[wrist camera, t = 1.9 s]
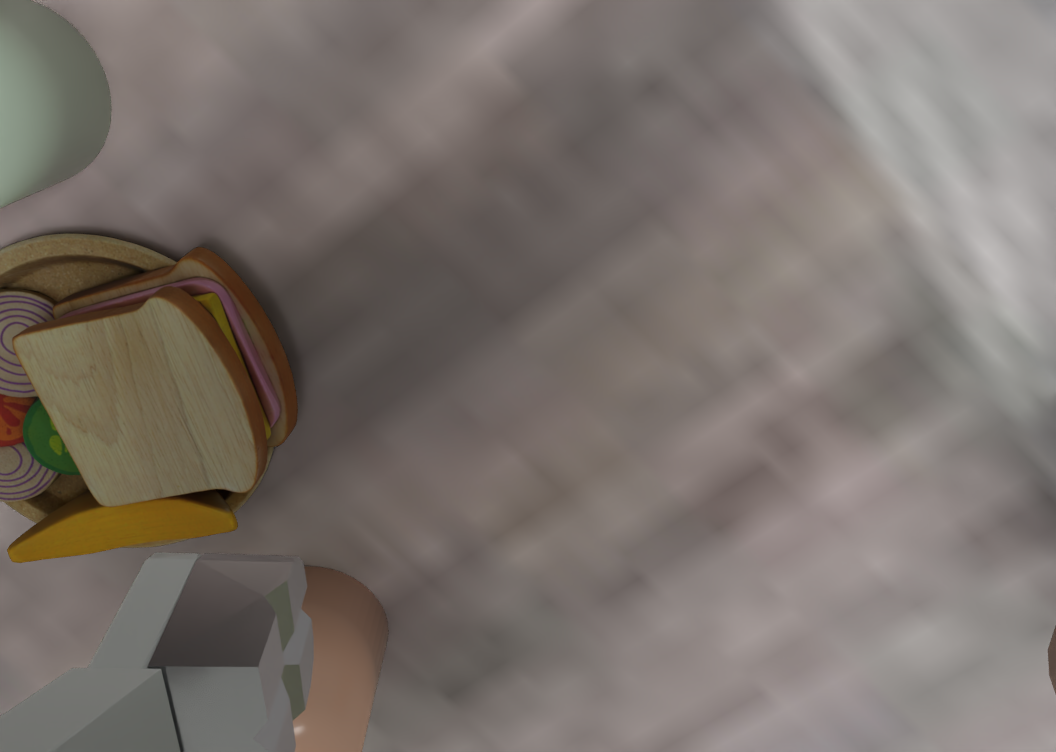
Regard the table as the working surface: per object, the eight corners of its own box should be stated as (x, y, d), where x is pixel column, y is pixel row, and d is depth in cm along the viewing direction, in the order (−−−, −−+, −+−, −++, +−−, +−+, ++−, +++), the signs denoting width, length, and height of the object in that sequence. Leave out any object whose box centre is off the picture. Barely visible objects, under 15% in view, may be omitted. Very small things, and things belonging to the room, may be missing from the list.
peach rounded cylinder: (397, 679, 41) (370, 813, 34) (259, 688, 41) (206, 822, 34) (376, 561, 38) (343, 680, 32) (230, 571, 38) (167, 691, 32)
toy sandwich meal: (-106, 250, 34) (-203, 291, 29) (264, 199, 33) (222, 234, 28) (15, 547, 39) (-52, 621, 34) (341, 510, 38) (315, 581, 33)
